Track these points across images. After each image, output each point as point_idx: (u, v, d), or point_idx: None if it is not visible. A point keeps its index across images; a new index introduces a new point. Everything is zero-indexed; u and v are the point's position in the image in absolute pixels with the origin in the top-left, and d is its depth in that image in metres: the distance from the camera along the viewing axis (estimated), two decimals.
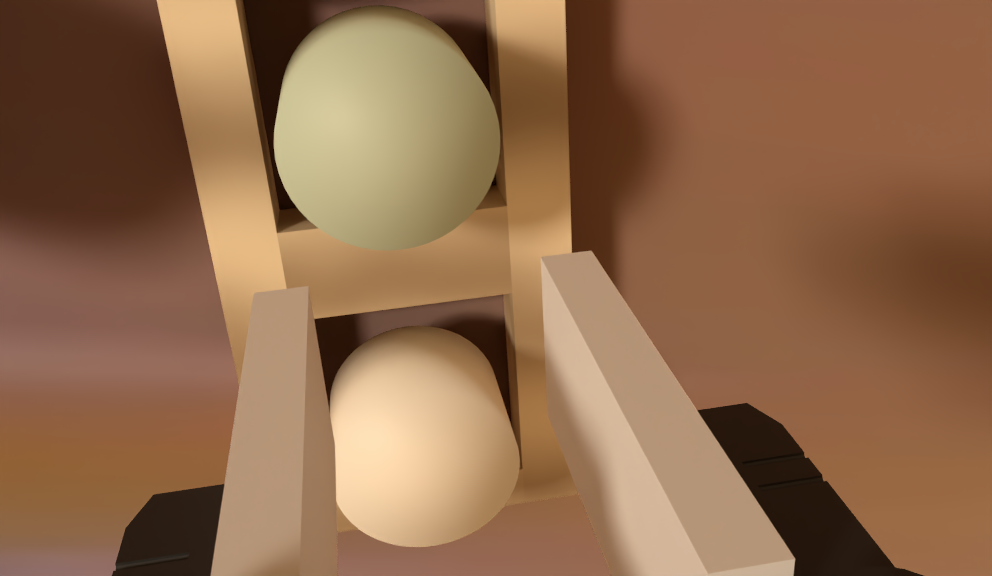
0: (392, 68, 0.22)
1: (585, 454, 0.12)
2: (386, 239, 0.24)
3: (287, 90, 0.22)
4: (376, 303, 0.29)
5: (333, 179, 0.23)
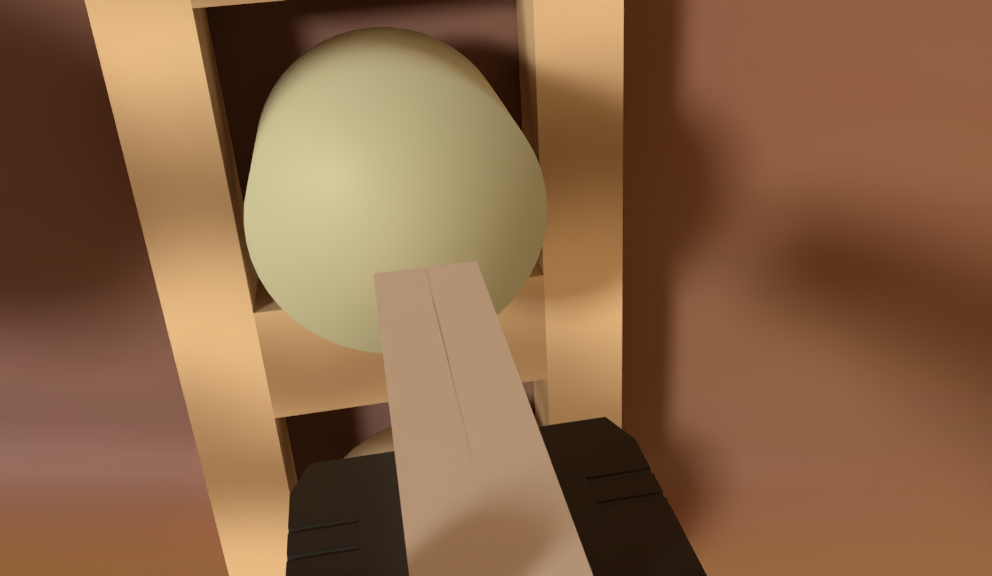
0: (405, 120, 0.16)
1: None
2: None
3: (261, 151, 0.16)
4: (379, 394, 0.23)
5: (325, 266, 0.17)
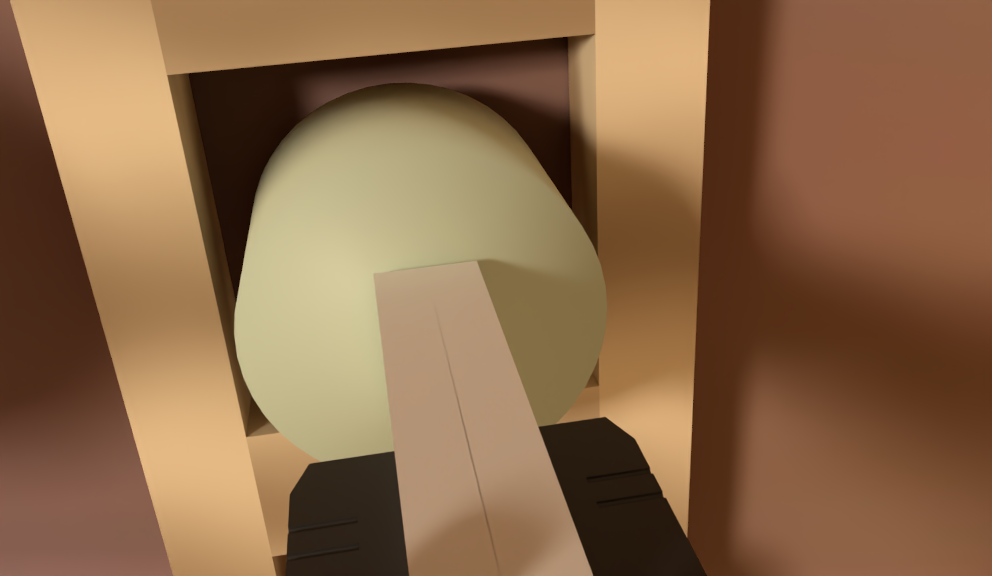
0: (435, 209, 0.13)
1: None
2: None
3: (256, 249, 0.13)
4: None
5: (335, 383, 0.14)
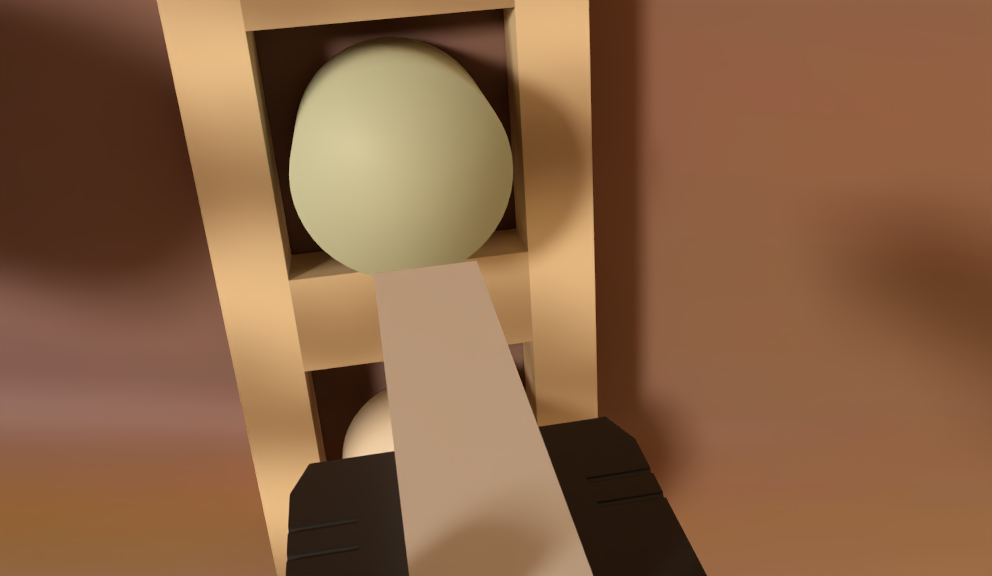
0: (407, 99, 0.23)
1: None
2: (400, 268, 0.24)
3: (302, 121, 0.22)
4: None
5: (347, 209, 0.23)
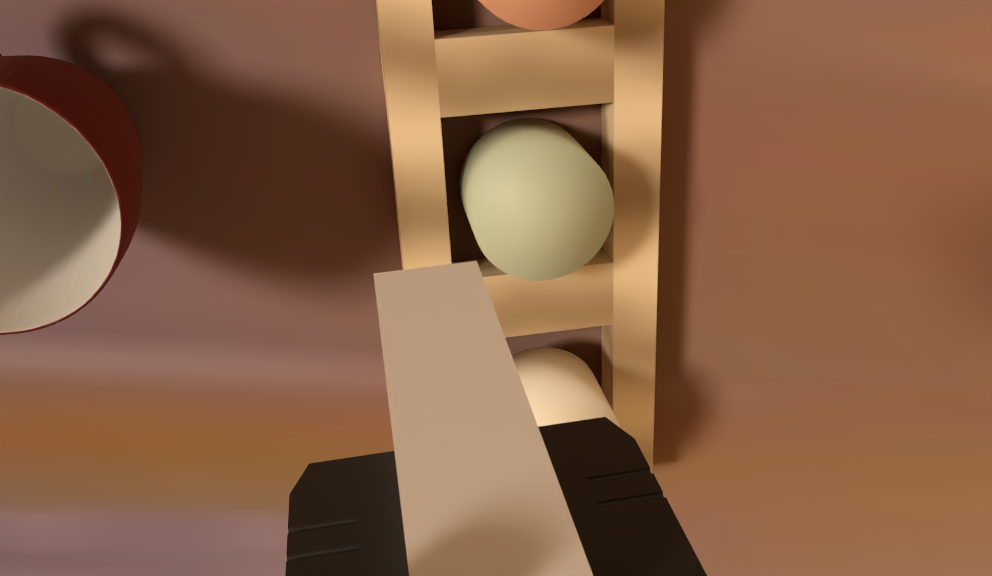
0: (550, 165, 0.35)
1: None
2: (537, 273, 0.37)
3: (484, 179, 0.35)
4: (517, 330, 0.41)
5: (507, 235, 0.36)
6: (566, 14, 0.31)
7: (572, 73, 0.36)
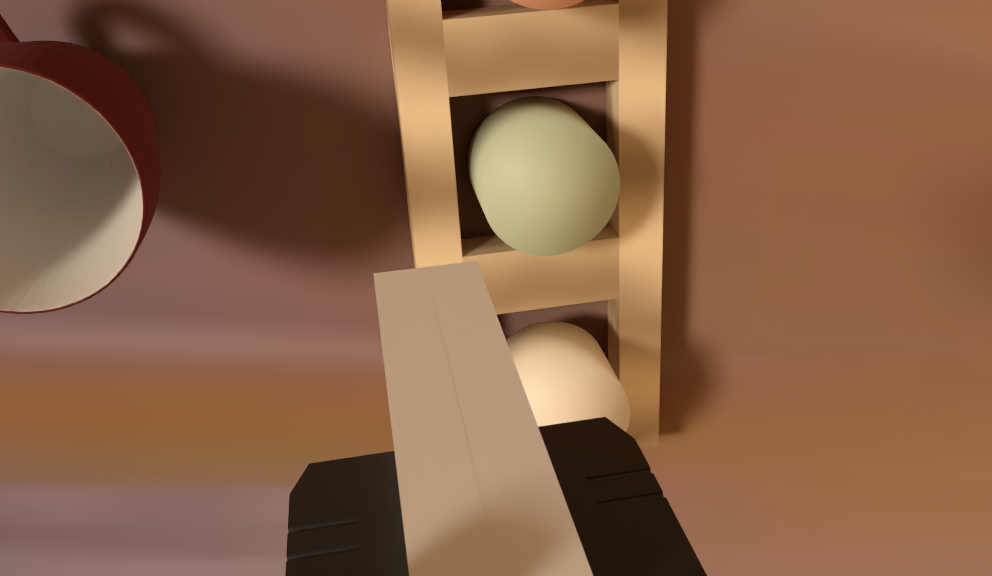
0: (557, 143, 0.36)
1: None
2: (545, 249, 0.38)
3: (492, 157, 0.36)
4: (525, 305, 0.42)
5: (515, 211, 0.37)
6: None
7: (578, 51, 0.37)
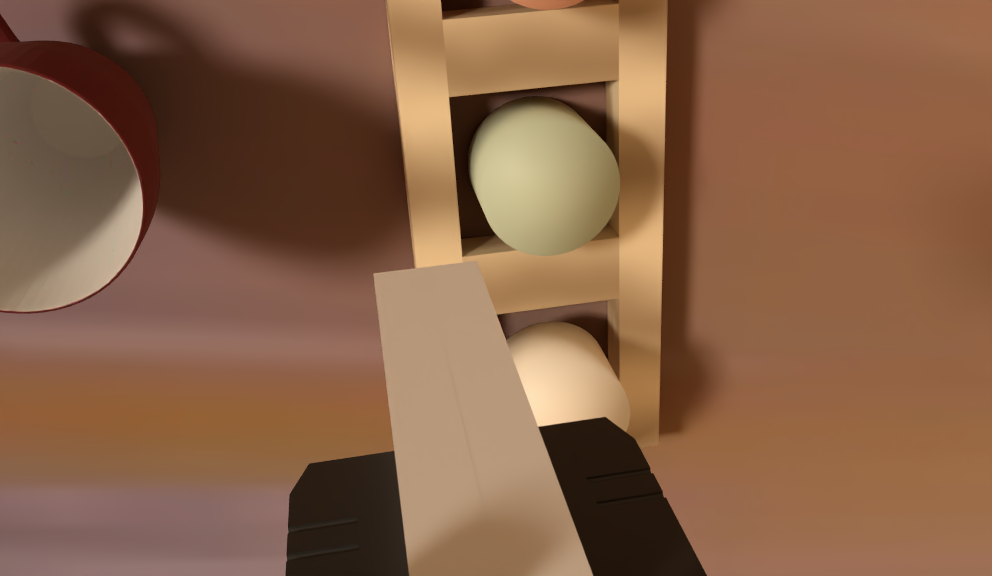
0: (557, 143, 0.36)
1: None
2: (545, 249, 0.38)
3: (492, 157, 0.36)
4: (525, 305, 0.42)
5: (515, 211, 0.37)
6: None
7: (578, 51, 0.37)
